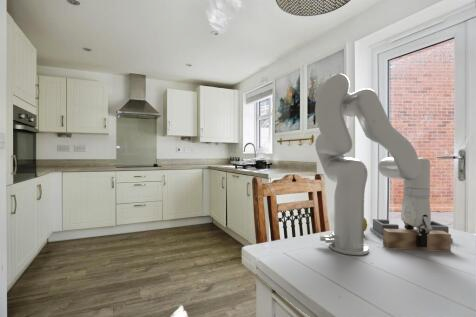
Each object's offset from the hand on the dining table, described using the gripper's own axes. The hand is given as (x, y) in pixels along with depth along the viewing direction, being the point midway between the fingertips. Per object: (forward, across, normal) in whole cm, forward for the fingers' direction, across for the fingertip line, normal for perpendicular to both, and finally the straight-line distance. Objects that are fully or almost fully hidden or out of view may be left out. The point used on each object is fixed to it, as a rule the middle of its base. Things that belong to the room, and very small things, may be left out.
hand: (415, 243), depth 89 cm
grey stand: (+2, -14, +5) cm, 15 cm away
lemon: (+2, -14, -14) cm, 20 cm away
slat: (+2, 0, 0) cm, 2 cm away
